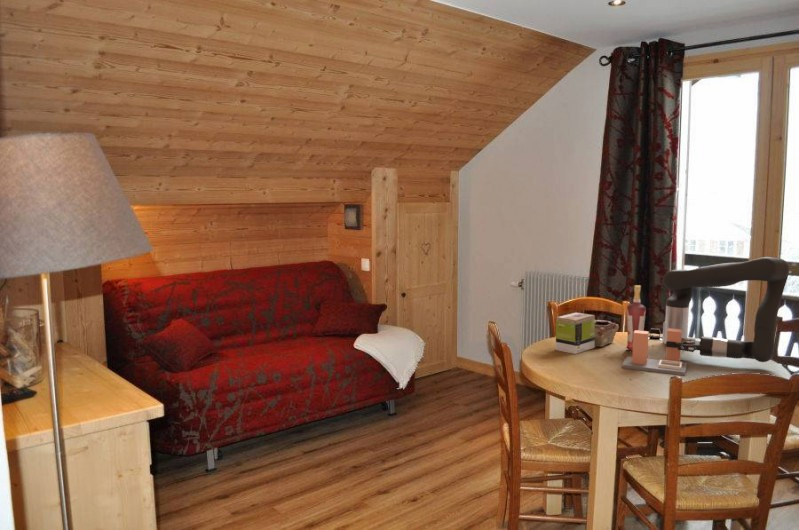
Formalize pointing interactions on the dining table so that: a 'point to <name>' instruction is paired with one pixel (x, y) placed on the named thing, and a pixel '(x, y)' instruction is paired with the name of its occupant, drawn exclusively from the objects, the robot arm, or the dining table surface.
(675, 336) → the terracotta block
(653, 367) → the charcoal board
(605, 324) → the grey textured container
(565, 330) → the tea box
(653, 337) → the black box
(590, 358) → the dining table surface
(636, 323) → the liquor
